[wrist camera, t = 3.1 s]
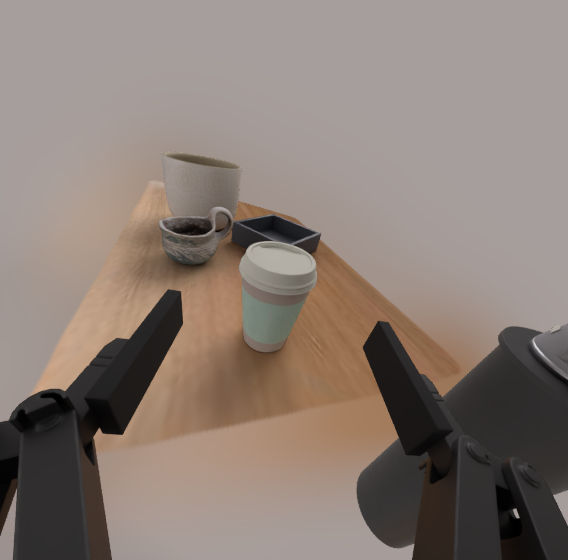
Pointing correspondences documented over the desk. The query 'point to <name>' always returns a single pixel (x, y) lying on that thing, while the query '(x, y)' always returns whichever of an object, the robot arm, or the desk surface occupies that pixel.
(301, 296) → the coffee cup
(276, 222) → the bin
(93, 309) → the desk surface
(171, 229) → the mug
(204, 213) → the planter
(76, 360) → the desk surface
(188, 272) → the desk surface
